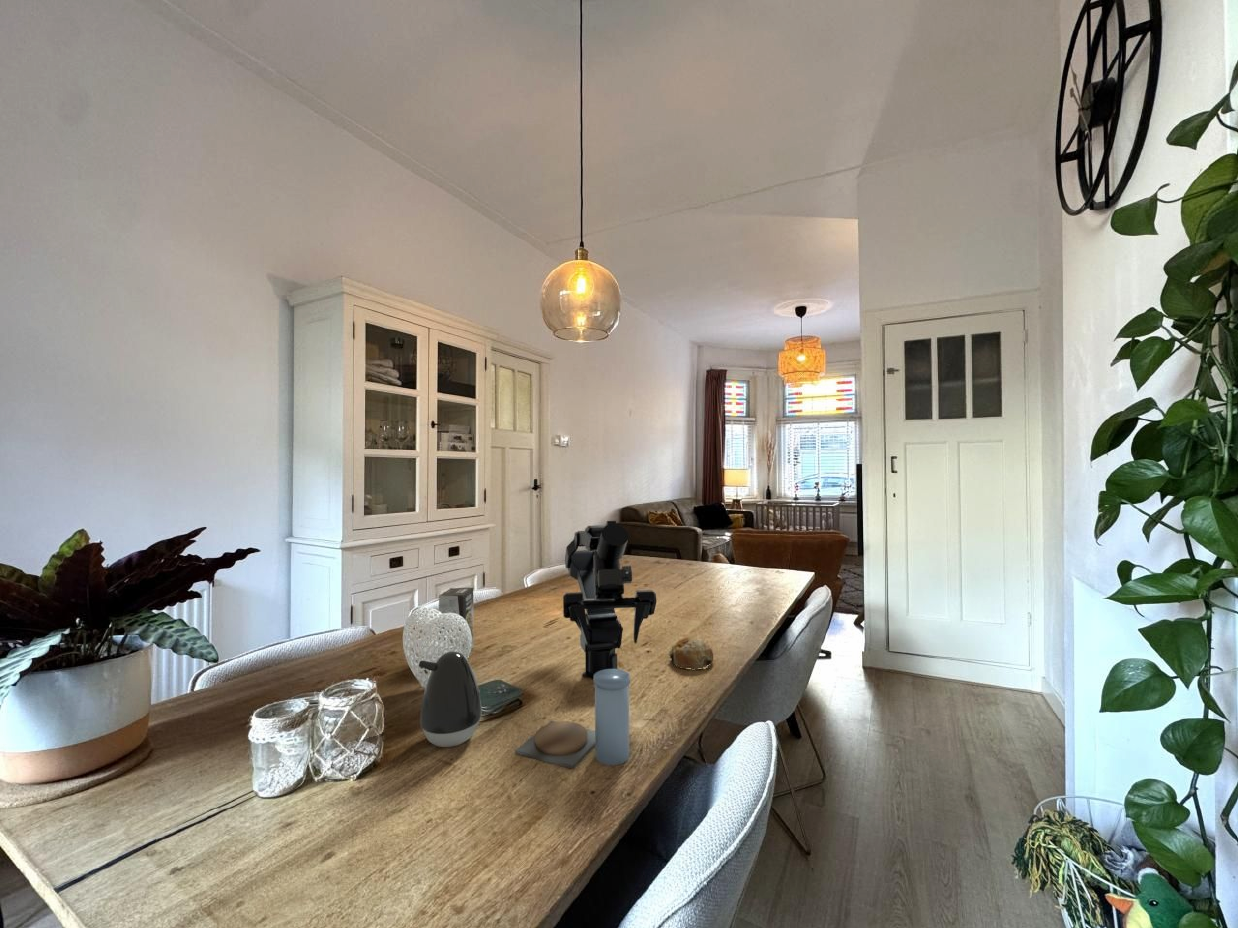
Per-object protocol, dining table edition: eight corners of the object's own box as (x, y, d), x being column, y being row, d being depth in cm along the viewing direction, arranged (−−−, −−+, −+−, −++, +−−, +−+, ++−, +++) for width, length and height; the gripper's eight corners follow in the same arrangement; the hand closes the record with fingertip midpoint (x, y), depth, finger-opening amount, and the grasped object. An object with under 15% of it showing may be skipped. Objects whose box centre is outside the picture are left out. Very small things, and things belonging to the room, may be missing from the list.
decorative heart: (485, 691, 109) (484, 610, 109) (443, 711, 100) (442, 623, 100) (432, 673, 119) (431, 599, 119) (389, 690, 110) (389, 610, 110)
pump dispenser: (419, 731, 92) (419, 646, 92) (478, 721, 96) (478, 639, 96) (418, 761, 83) (418, 667, 83) (484, 748, 86) (484, 658, 87)
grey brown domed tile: (515, 753, 85) (515, 743, 85) (551, 723, 95) (551, 714, 95) (572, 769, 80) (572, 758, 80) (604, 735, 90) (604, 726, 90)
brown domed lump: (692, 688, 118) (705, 660, 116) (658, 660, 123) (670, 633, 121) (712, 675, 126) (725, 648, 124) (679, 649, 131) (691, 623, 129)
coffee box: (463, 660, 127) (463, 595, 127) (437, 660, 127) (437, 595, 127) (474, 647, 136) (474, 586, 136) (450, 647, 136) (450, 587, 136)
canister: (587, 760, 82) (586, 679, 83) (604, 742, 88) (603, 666, 88) (621, 769, 80) (620, 686, 80) (636, 750, 85) (635, 672, 85)
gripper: (563, 553, 103) (562, 624, 92) (654, 550, 105) (665, 621, 93) (563, 583, 111) (563, 653, 99) (649, 581, 112) (658, 649, 101)
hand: (612, 643), depth 98 cm, fingers open, 9 cm apart
